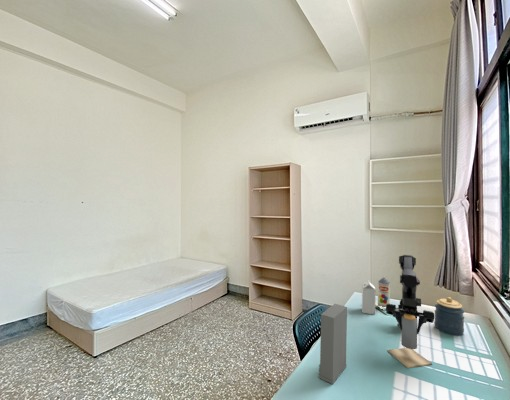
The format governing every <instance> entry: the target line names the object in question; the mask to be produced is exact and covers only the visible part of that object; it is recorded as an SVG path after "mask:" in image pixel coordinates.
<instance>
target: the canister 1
mask: <svg viewBox="0 0 510 400" xmlns="http://www.w3.org/2000/svg"><path fill="white" fill-rule="evenodd" d="M418 321H419V319H418V318H417V319H416V318H415V316H414V315H411V314H404V315H403V316H402V330H400V332H401V333H400V334H401V336H400V337H401V339H400V341H401V343H400V345H402V347H404V348H408V349H413V350H416V349H418V334H417V329H418Z"/></svg>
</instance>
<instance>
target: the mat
mask: <svg viewBox="0 0 510 400" xmlns="http://www.w3.org/2000/svg"><path fill="white" fill-rule="evenodd" d="M387 352H388V353H389V354H390V355H391V356H392V357H394V358H395V359H396V360H397V361H399V362H400V363H401V364H402V365H403V366H404V367H406V368H407V369H410V368H417V367H425V366H432V365H433V363H432V362H431V361H430V360H428V359H427V358H425V357H424V356H423V355H421V354H419V352H417V351H416V350H415V349H408V348H406V347H404V348H403V347H401V348H395V349H388V350H387Z"/></svg>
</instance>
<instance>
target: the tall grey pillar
mask: <svg viewBox="0 0 510 400" xmlns="http://www.w3.org/2000/svg"><path fill="white" fill-rule="evenodd" d="M347 319H348V307H347V306H345V305H341V304H338V303H333V305H331V306H330V307H329V308H327V309H326V310H324V312H322V313H321V314H320V349H319V350H320V351H319V352H320V353H319V354H320V355H319V356H320V357H319V359H320V360H319V364H318V372H319V373H318V377H317V378H318V379H320V380H322V381H325V382H327V383H329V384H331V385H334V384H335V382H336V381H337V379H339V377H340V376H341V374H342V373H343V372H344V370H345V369H346V368H347V334H348V333H347V330H348V320H347Z"/></svg>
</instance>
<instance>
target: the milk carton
mask: <svg viewBox="0 0 510 400" xmlns="http://www.w3.org/2000/svg"><path fill="white" fill-rule="evenodd" d="M361 287H362V289H361V291H362V293H361V311H362V313H364V314H369V315H376V293H377V292H376V287H375V285H374V284H372V283H371V282H370V279H368V281H365V282H363V283H362V286H361Z"/></svg>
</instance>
